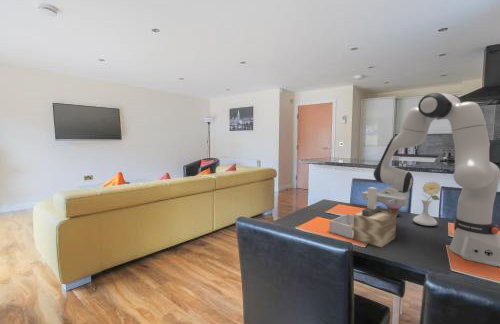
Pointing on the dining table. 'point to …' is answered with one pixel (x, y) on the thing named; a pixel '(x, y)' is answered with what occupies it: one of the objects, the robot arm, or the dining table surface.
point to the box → (342, 226)
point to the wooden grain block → (375, 228)
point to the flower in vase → (424, 217)
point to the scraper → (371, 203)
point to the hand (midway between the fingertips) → (377, 200)
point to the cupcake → (393, 209)
